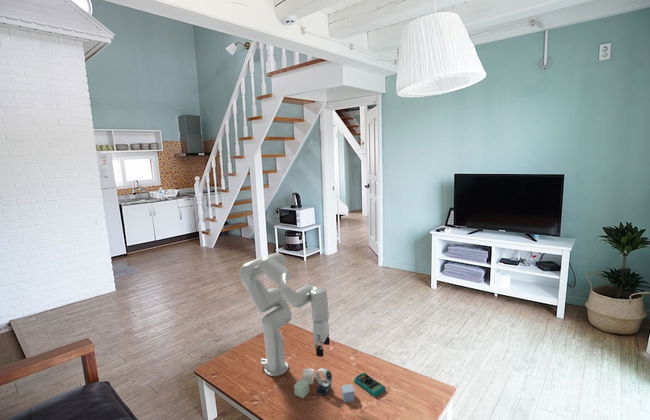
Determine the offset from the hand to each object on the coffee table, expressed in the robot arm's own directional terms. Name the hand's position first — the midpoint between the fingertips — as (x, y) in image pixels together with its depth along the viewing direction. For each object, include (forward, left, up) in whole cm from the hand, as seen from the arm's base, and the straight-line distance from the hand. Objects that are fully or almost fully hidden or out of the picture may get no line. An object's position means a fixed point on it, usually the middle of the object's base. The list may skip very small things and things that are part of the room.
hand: (323, 350), depth 158 cm
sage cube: (-11, -4, -22) cm, 24 cm away
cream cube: (-11, +5, -22) cm, 25 cm away
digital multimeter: (+19, +8, -22) cm, 30 cm away
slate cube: (+11, -2, -22) cm, 24 cm away
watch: (-1, 0, -22) cm, 22 cm away
